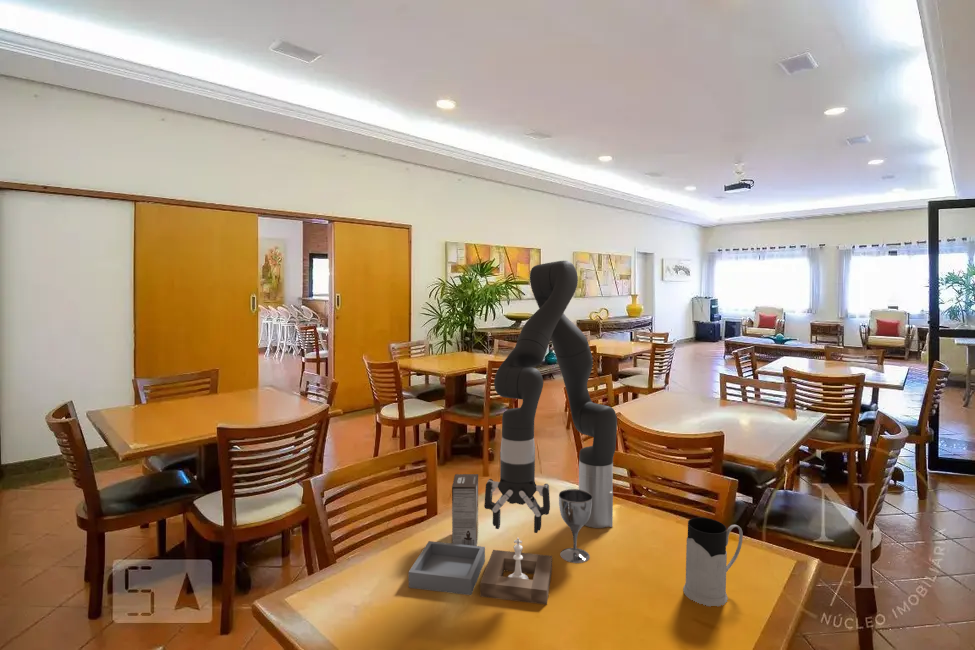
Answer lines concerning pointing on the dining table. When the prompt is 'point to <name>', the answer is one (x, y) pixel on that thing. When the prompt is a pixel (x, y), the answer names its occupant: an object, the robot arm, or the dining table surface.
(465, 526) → the coffee box
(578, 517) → the wine glass
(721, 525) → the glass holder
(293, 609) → the dining table surface
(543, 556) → the socket block
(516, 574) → the chess piece
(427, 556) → the tray
